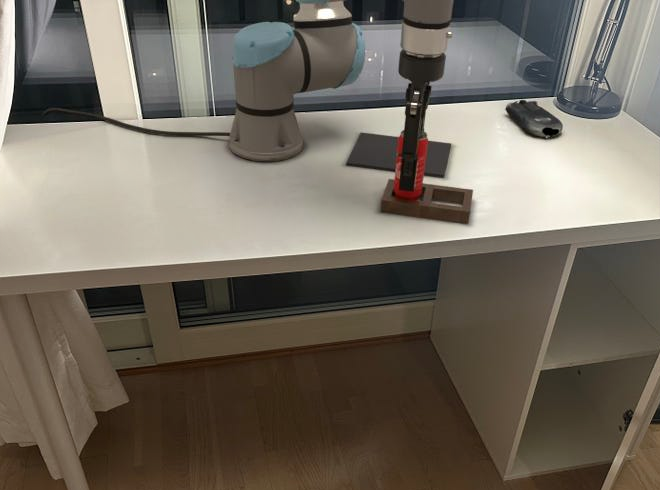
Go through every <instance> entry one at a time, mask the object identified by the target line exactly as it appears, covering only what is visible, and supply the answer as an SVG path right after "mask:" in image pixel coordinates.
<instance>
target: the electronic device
mask: <svg viewBox="0 0 660 490" xmlns="http://www.w3.org/2000/svg"><path fill="white" fill-rule="evenodd" d="M504 110H505V112H506V113H507V115H508V116H510V117H511V118H512V119H513V120H515V122H516V123H518V124H520V125H521V127H522V128H523V129H524V131H525V132H526V133H527V134H530V135H532V136H534V137H541V138H546V139H548V138H550V137H555V136H558V135H559V134H561V132H562V131H563V129H564V125H563V122H562V121H561V120H560V119H559V118H557V117H556V116H555V115H554V114H553V113H550V112H549V111H548V110H547V109H545V108H543V107H542V106H540V105H539V103H538V101H537V100H529V101H527V100H526V99H519V101H518V100H517V101H513V102H508V103H507V104H506V105H505V108H504Z"/></svg>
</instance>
